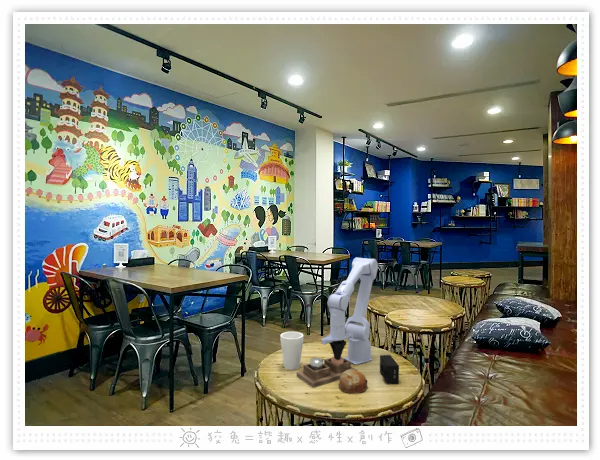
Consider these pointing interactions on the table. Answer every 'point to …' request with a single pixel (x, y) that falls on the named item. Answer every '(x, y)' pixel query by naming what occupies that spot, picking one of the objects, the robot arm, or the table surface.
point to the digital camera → (389, 369)
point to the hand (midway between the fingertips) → (337, 359)
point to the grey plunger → (316, 363)
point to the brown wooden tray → (324, 373)
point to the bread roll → (352, 382)
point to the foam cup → (291, 349)
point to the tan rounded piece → (337, 361)
